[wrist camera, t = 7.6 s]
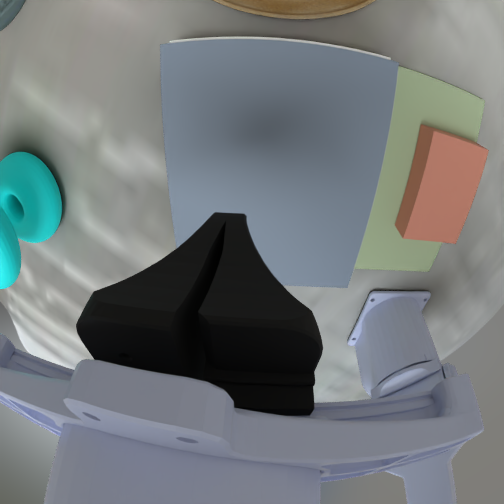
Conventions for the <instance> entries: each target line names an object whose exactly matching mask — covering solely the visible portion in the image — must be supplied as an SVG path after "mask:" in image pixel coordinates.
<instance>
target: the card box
mask: <svg viewBox="0 0 504 504" xmlns="http://www.w3.org/2000/svg"><path fill="white" fill-rule="evenodd" d="M488 151H489V150H487V149H486V148H484V147H482V146H481V145H479V144H477V143H476V142H474V141H471V140H468V139H466V138H463V137H460V136H457V135H454V134H451V133H448V132H445V131H442V130H439V129H436V128H433V127H429V126H426V125H422V124H421V126H420V131H419V136H418V141H417V145H416V150H415V154H414V159H413V163H412V167H411V171H410V175H409V178H408V182H407V186H406V189H405V193H404V196H403V200H402V203H401V207H400V210H399V213H398V216H397V219H396V222H395V227H396V228H397V230H398V231H399V233H400V235H401V236H402V238H403V239H412V240H423V241H434V242H444V243H454V244H456V242H457V240H458V237H459V235H460V233H461V230H462V228H463V226H464V223H465V221H466V218H467V216H468V213H469V210H470V208H471V205H472V202H473V200H474V197H475V194H476V191H477V188H478V185H479V182H480V179H481V176H482V173H483V169H484V166H485V162H486V159H487V155H488Z"/></svg>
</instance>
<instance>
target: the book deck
mask: <svg viewBox="0 0 504 504" xmlns="http://www.w3.org/2000/svg"><path fill="white" fill-rule="evenodd" d="M160 60H161V97H162V117H163V132H164V145H165V157H166V167H167V177H168V187H169V195H170V204H171V212H172V219H173V227H174V234H175V240H176V247H177V248H178V247H179V246H180V245H181V244H182V243H184V242H185V241H186V240H187V239H188V238H189V237H190V236H191V235H192V234H194V233H195V232H196V231H197V230H198V229H199V228H200V227H201V226H202V225H203V224H204V223H205V222H206V220H207V219H208V218H209V217H210V216H211V215H212V214H213V213H215V212H222V213H243V214H245V215H246V216H247V225H248V229H249V232H250V235H251V237H252V240H253V242H254V244H255V246H256V248H257V250H258V252H259V254H260V256H261V258H262V259H263V261H264V262H265V264H266V265H267V267H268V268H269V270H270V271H271V272H272V274H273V275H274V276H275V278H276V279H277V280H278V281H279V282H280V283H281V284H282V285H289V286H311V287H337V288H347V287H348V284H349V281H350V279H351V276H352V273H353V270H354V267H355V264H356V261H357V258H358V255H359V251H360V248H361V245H362V242H363V238H364V235H365V232H366V228H367V225H368V221H369V218H370V214H371V210H372V206H373V203H374V199H375V195H376V191H377V187H378V183H379V178H380V174H381V170H382V165H383V161H384V156H385V151H386V146H387V141H388V136H389V131H390V125H391V119H392V113H393V107H394V100H395V93H396V86H397V77H398V66H399V62H395V61H392V60H391V58H390V57H386V56H382V55H379V54H375V53H371V52H367V51H362V50H358V49H353V48H348V47H343V46H338V45H332V44H326V43H320V42H313V41H305V40H296V39H285V38H271V37H207V38H193V39H182V40H173V41H169V43H168V44H160Z"/></svg>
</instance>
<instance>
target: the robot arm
mask: <svg viewBox="0 0 504 504" xmlns="http://www.w3.org/2000/svg"><path fill="white" fill-rule="evenodd" d="M430 296H431V294H430V292H428V291H372V292H371V293H370V294H369V296H368V299H367V301H366V303H365V305H364V308H363V310H362V312H361V314H360V316H359V319H358V321H357V323H356V325H355V327H354V329H353V331H352V333H351V335H350V337H349V339H348V341H347V343H348V345H349V346H355V349H356V354H357V359H358V365H359V370H360V376H361V382H362V385H363V388H364V389H365V391H366V392H367V393H368V394H369V395H370V396H371V399H368V400H358V401H345V402H327V403H314V393H313V386H314V384H315V375H314V371H315V369H316V367H317V364H318V362H319V360H320V358H321V355H322V350H323V345H322V339H321V335H320V332H319V328H318V325H317V322H316V320H315V317H314V315H313V313H312V311H311V310H310V309H309V308H307V307H306V306H305V305H304V304H302V303H301V302H300V301H298V300H297V299H296V298H295V297H293V296H292V295H291V294H290V293H289V292H288V291H287V290H286V289H285V288H284V286H283V285H282V284H281V283H280V282H279V281H278V280H277V279H276V278H275V276H274V275H273V274H272V272H271V271H270V270H269V268H268V267H267V265H266V264H265V262H264V261H263V259H262V258H261V256H260V254H259V252H258V250H257V248H256V246H255V244H254V242H253V240H252V237H251V235H250V232H249V229H248V225H247V216H246V215H245V214H243V213H222V212H215V213H213V214H212V215H211V216H210V217H209V218H208V219H207V220H206V222H205V223H204V224H203V225H202V226H201V227H200V228H199V229H198V230H197V231H196V232H195V233H194V234H192V235H191V236H190V237H189V238H188V239H187V240H186V241H185V242H184V243H182V244H181V245H180V246H179V247H178V248H177V249H175V250H174V251H173V252H171V253H170V254H169V255H167V256H166V257H164V258H163V259H161V260H160V261H158V262H157V263H155V264H153V265H151V266H150V267H148V268H146V269H145V270H143V271H141V272H139V273H137V274H135V275H133V276H131V277H129V278H127V279H125V280H123V281H120V282H118V283H116V284H113V285H110V286H108V287H105V288H102V289H100V290H97V291H94V292H93V294H92V295H91V297H90V299H89V301H88V302H87V304H86V306H85V308H84V310H83V312H82V314H81V316H80V318H79V319H78V322H77V324H76V328H77V333H78V335H79V337H80V339H81V341H82V342H83V344H84V345H85V347H86V348H87V349H88V351H89V352H90V354H91V355H92V357H93V358H94V359H95V360H90V359H85V360H82V361H80V362H79V363H78V364H77V366H76V368H75V370H72V369H69V368H66V367H63V366H60V365H57V364H55V363H52V362H49V361H46V360H44V359H41V358H38V357H36V356H33V355H31V354H28V353H26V352H23V351H21V350H19V349H16V348H15V346H14V345H13V344H12V342H11V341H10V340H9V339H8V338H7V337H6V336H5V335H3V334H1V333H0V402H1V403H2V404H4V405H6V406H7V407H9V408H10V409H12V410H13V411H15V412H17V413H18V414H20V415H22V416H23V417H25V418H27V419H29V420H30V421H32V422H34V423H36V424H37V425H39V426H41V427H43V428H44V429H46V430H48V431H50V432H52V433H54V434H56V435H58V436H60V438H59V442H58V445H57V449H56V453H55V456H54V460H53V464H52V468H51V472H50V476H49V480H48V485H47V490H46V495H45V500H44V504H321V487H320V482H326V481H334V480H341V479H347V478H353V477H359V476H364V475H368V474H374V473H378V472H382V471H386V472H389V473H392V474H394V475H397V476H400V477H402V478H403V479H404V484H405V490H406V497H407V504H457V499H456V491H455V484H454V477H453V470H452V466H451V460H452V458H453V457H454V456H455V455H456V453H457V452H458V450H459V449H460V448H461V446H462V445H463V444H464V443H465V442H466V441H468V440H470V439H471V438H473V437H475V436H476V435H478V434H480V433H482V432H483V431H484V425H483V421H482V417H481V414H480V410H479V407H478V403H477V399H476V396H475V393H474V390H473V387H472V383H471V380H470V377H469V375H468V374H467V373H465V374H461V375H458V373H457V370H456V368H455V366H454V365H451V364H449V363H446V364H444V365H443V366H442V364H441V362H440V360H439V357H438V354H437V351H436V348H435V345H434V343H433V340H432V337H431V335H430V332H429V330H428V327H427V325H426V322H425V320H424V317H423V315H422V312H421V311H422V310H423V308H424V307H425V305H426V303H427V301H428V300H429V298H430Z"/></svg>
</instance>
